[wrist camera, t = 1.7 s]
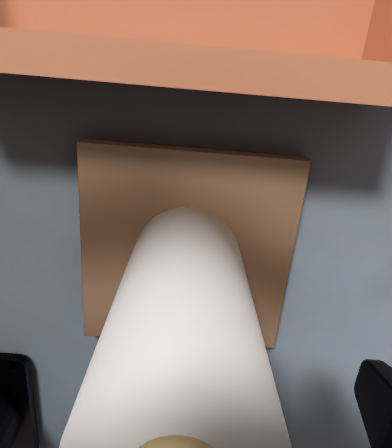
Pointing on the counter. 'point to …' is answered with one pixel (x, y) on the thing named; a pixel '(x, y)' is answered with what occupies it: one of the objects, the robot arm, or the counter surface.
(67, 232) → the counter surface
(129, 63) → the salmon square tray
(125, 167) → the brown flat square pad
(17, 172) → the counter surface
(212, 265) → the white cylinder with knob
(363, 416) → the robot arm
